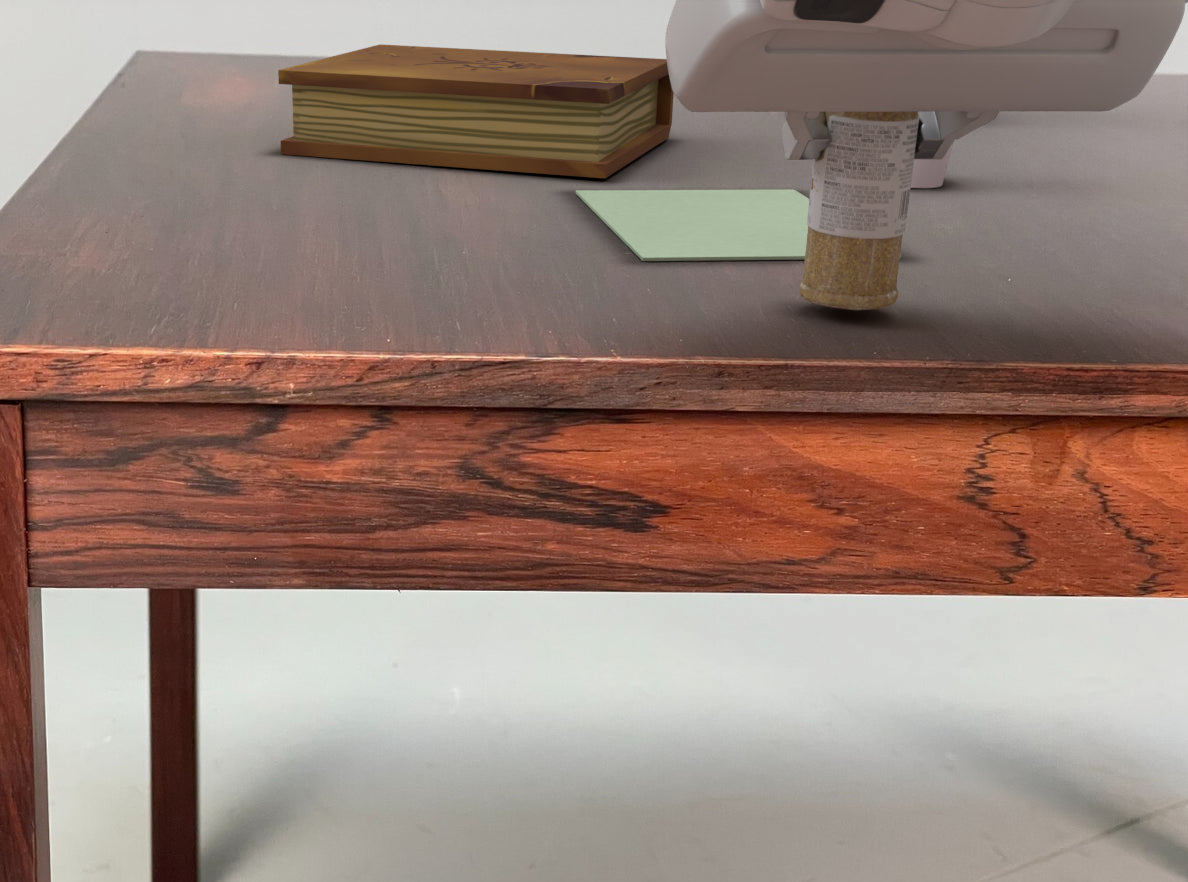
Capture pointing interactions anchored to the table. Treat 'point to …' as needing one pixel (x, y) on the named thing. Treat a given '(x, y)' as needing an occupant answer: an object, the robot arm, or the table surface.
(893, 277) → the sprinkles bottle
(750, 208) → the mat
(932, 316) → the table surface
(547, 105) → the diary
